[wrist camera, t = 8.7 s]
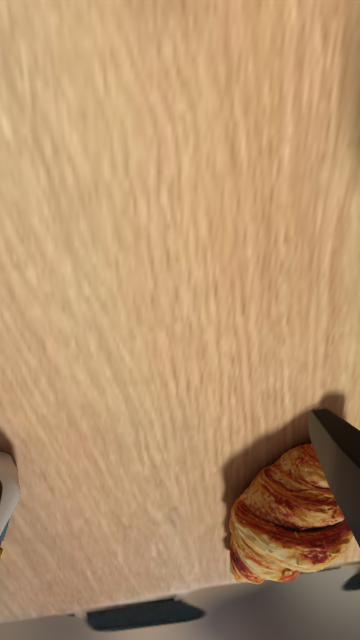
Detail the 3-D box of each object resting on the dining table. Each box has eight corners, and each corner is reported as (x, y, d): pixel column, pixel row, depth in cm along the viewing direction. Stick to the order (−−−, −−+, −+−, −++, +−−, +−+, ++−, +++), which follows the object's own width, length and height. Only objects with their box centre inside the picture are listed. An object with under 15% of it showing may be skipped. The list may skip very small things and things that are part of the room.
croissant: (248, 525, 41) (298, 599, 36) (180, 564, 35) (229, 660, 29) (346, 394, 31) (434, 468, 26) (276, 416, 25) (374, 519, 20)
